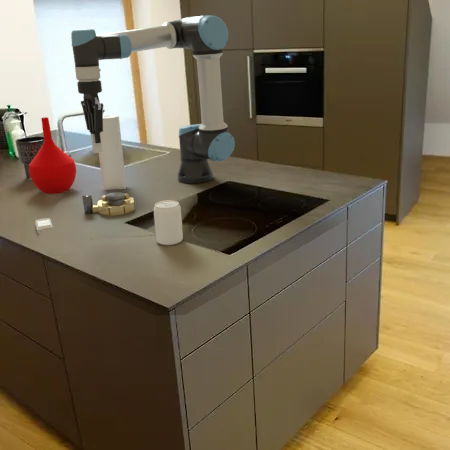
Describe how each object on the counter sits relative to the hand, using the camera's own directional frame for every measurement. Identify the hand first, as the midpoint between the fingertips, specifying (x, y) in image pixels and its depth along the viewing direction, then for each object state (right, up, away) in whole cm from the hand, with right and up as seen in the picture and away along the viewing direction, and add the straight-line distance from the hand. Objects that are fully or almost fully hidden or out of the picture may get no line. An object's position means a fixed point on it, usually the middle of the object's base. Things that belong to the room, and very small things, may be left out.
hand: (97, 152), depth 176 cm
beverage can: (+26, -30, -17) cm, 43 cm away
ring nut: (+2, -19, +8) cm, 21 cm away
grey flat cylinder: (+3, -21, +7) cm, 23 cm away
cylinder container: (-2, -10, +38) cm, 39 cm away
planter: (-41, -4, +58) cm, 71 cm away
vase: (-26, -11, +38) cm, 47 cm away
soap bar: (-17, -26, -3) cm, 31 cm away
